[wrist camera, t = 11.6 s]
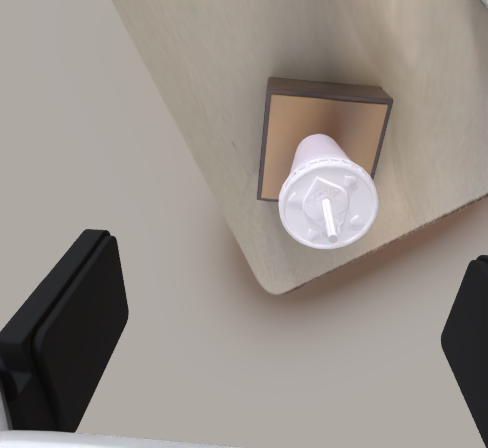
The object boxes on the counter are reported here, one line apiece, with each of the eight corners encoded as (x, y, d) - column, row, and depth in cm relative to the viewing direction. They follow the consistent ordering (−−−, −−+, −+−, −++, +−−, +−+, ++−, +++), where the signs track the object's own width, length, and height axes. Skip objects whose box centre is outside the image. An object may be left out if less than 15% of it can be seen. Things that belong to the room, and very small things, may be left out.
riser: (381, 86, 35) (394, 100, 31) (357, 188, 40) (365, 212, 36) (268, 77, 36) (266, 89, 31) (259, 179, 41) (256, 201, 37)
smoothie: (344, 105, 32) (381, 177, 20) (364, 175, 34) (407, 276, 22) (268, 134, 33) (260, 216, 21) (293, 198, 36) (298, 303, 24)
